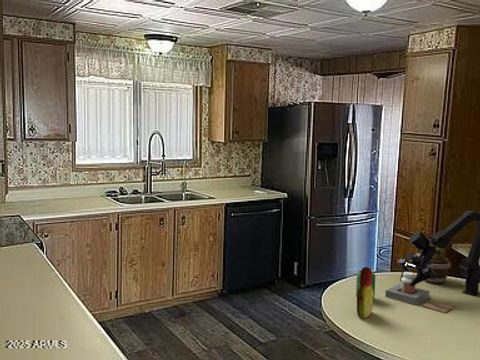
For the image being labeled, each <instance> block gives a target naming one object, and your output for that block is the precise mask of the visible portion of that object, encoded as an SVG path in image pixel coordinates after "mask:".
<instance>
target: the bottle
mask: <svg viewBox="0 0 480 360" xmlns="http://www.w3.org/2000/svg"><path fill="white" fill-rule="evenodd" d="M360 271H361V275H360V287H359V289H358V292H357V297H356V314H357V316H358V317H359V318H361V319H366V318H368V317H369V316H370V315H371V314H372V311H373V305H374V304H373V303H374V299H373V296H374V292H373V289H372V286H371V284H372V272H373V271H372V269H371V268H370V267H369V266H368V267H367V266H365V267H362V268H361V270H360Z"/></svg>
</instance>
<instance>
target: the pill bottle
mask: <svg viewBox="0 0 480 360" xmlns="http://www.w3.org/2000/svg"><path fill="white" fill-rule="evenodd" d="M403 276H404V277H402V278H401V277H400V278H401V281H400V284H401V292H403V293H407V294H411V295H412V294H414V293H415V288H416V284H415V285H413V286H411V282H412V281H413V279H414V278H415V273H414V272H411V271H410V272H403Z"/></svg>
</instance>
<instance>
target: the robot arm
mask: <svg viewBox="0 0 480 360" xmlns="http://www.w3.org/2000/svg"><path fill="white" fill-rule="evenodd" d="M473 221H474V222H475V221H476V226H477V227H476V228H477V229H476V232H475V234H474V237H473V240H472V244H471V247H470V249H469V251H468V255H467V257H466V258H465V259H464V258H461V260H460V263H459V266H458V267H459V268H458V269H459V272H460V274H461V277H462V278H463V279H465V281H464V282H465V285H464V289H463V290H462V291H461V292H462V293H463V294H466V295H471V296H475V297H477V296H479V295H480V291H479V290H480V289H479V288H480V210H479V211H477V210H465V211H464V212H463V214H461V216H459V217H458V218H457V219H456V220H454V221H453V222H452V223H451V224H450V225H448V226H447V227H446V228H445V229H443V230H440V231H439V230H438V231H437V232H436V233H433V234H432V235H431V236H426V235H425V234H424V233H423V232H422V231H421V230H420V231H417V232H416V233H414V234H412V235H410V237H409V239H408V242H409V243H410V244H411V245H413V247H415V249H417V251H420V252H417V253H412V252H410V251H407V252H406V254H405V257H404V258H403V257H401V258H399V260H398V261H397V263H398V265H399V266H400V267H401V268H402V271H401V275H400V278H399V281H400V282H401V278H402V277H404V276H403V272H411V271H412V270H413V271H417V272H416V275H414V277H413V278H414V279H413V281H412V282H411V286H413V285H415V286H416V285H417V284H420V283H422V282H425V281H424V280H428V278H429V279H431V280H434V279H435V278H436V274H435V272H434V271H433V270H432V269H431V268H429V267H427V265H431V263H430V261H431V260H432V258H433V257H434V256H435V255H438V256H440V255H441V254H440V250H437V249H436V247H438V248H440V249H446V248H447V247H448V246H449V245H450V243H451V242H452V240H453V238H454V237H455V236H457V234H458V233H460V232H461V231H462V230H463V229H465V228H466V227H467V226H468V225H469V224H470V223H472V222H473Z"/></svg>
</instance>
